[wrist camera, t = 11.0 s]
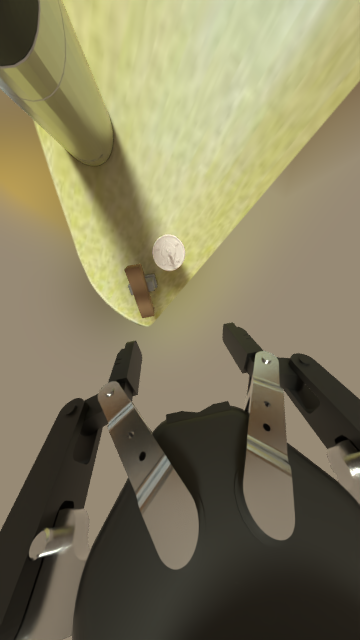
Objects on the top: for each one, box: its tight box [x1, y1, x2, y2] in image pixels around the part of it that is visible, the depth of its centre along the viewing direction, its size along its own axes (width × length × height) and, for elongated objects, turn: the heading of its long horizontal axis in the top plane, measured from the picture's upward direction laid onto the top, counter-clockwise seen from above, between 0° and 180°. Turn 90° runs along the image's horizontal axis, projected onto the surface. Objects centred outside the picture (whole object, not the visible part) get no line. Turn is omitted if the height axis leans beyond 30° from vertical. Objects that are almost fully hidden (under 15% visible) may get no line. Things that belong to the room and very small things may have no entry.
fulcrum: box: [128, 274, 157, 295], centre depth 35 cm, size 4×7×5 cm, turn 98°
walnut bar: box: [124, 264, 154, 318], centre depth 31 cm, size 12×3×4 cm, turn 8°
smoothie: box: [152, 234, 185, 271], centre depth 27 cm, size 6×6×14 cm
